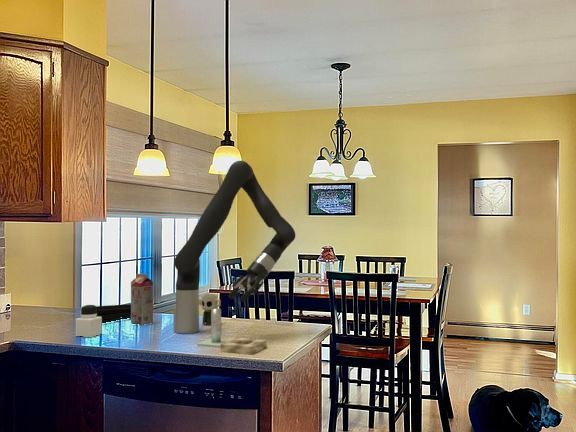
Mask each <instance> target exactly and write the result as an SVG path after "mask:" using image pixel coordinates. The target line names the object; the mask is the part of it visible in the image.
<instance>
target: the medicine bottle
mask: <svg viewBox="0 0 576 432" xmlns="http://www.w3.org/2000/svg"><path fill="white" fill-rule="evenodd" d="M97 306H98V305H94V304H84V305H82V306H81V307H80V317H78V318H75V337H76V336H84V337H92V338H94V337H93V336H95V337H97V336H96V335H99V336H101V335H100V334H103V332H102V331H103V325H102V321H103V319H102V317H96V315H97ZM84 337H83V338H84Z"/></svg>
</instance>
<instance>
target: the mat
mask: <svg viewBox="0 0 576 432" xmlns="http://www.w3.org/2000/svg"><path fill="white" fill-rule="evenodd" d="M230 340H231V339H222V338H221V342H220V343H212V342H211V337H210V338H208V339H206V340H203V341H200V342H197V343H196V345H197V346H201V347H212V348H221V344H223V343H225V342H228V341H230Z"/></svg>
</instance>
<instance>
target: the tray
mask: <svg viewBox="0 0 576 432" xmlns="http://www.w3.org/2000/svg"><path fill="white" fill-rule="evenodd" d="M96 306H97V315H96V317H102V323H106V322H111V321H116V320H120V319H127V318H131V303H129V304H128V303H127V304H126V303H125V304H113V305H96ZM119 317H122V318H119Z"/></svg>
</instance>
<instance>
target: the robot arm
mask: <svg viewBox="0 0 576 432" xmlns="http://www.w3.org/2000/svg"><path fill="white" fill-rule="evenodd" d="M241 188H242V190H243V191H244V192H245V193H246V195H247V196H248V197H249V198H250V200H251V202H252V204H253V206H254V208H255V209H256V212H257V213H258V214H259V217H260V218H261V219H262V221H263V223H265V226H267V227H268V228H269V229H270V228H272V229H273V231H274V232H275V234H274V236H273V237H272V238H271V240H270V242H269V243H268V244H267V245H266V246H265V247H264V249H263V250H262V251H261V252H260V254H258V255H257V256H256V258H255V259H254V260H253V261H252V262H251V264H250V265H249V266H248V267H247V269H246V273H247V274H246V275H245V276H243V274H242V275H240V276H239V277H238V278H237V279H236V281H235V282H234V283H233V284H232V285H231V287H232V288H233V289H232V290H231V291H230V293H229V294H228V298H229V299H230V300H234V299H235V297H236V296H237V295H238V293H239V292H241V291H244V290H245V291H244V292H243V294H242V296H241V297H240V300H241V301H242V302H244V303H246V301H247V300H248V299H249V298H250V296H251V295H253V294H255V295H256V294H257V293H258V292H259V290H260V289H261V287H262V286H263V285H264V283H265V281H264V280H265V279H266V277H268V275H269V273H271V271H272V270H273V268H274V267H275V265H276V264H277V262H278V261H279V259H280V258H281V256H282V254H283V253H284V252H285V250H286V249H287V248H288V247H289V246H290V245H291V244H292V242H294V240H295V238H296V231H295V229H294V227H293V226H292V225H291V224H290V223H289V221H287V220H286V218H284V217H283V216H282V215H281V214H280V212H279V210H278V209H277V207H276V206H275V204H273V202H272V200H271V199H270V198H269V196H268V195H267V194H266V193H265V192H264V190H263V188H262V186H261V185H260V183H259V181H258V179H257V177H256V175H255V172H254V170H253V167H252V165H250V164H249V163H248V162H246V161H244V160H236V161H235V162H233V163H232V164H231V165H230V167H229V168H228V170H227V172H226V174H225V176H224V179H223V181H222V182H221V185H220V186H219V188H218V190H217V191H216V192H215V194H214V195H213V197H212V199H211V200H210V202H209V203H208V205H206V207H205V209H204V210H203V212H202V214H201V216H200V218H199V220H198V221H197V223H196V225H195V227H194V229H193V231H192V233H191V235H190V237H189V238H188V240H187V241H186V242H185V243H184V245H183V246H182V248H181V249H180V250H179V251H178V253H177V254H176V255H175V257H174V267H175V269H176V270H177V272H176V273H177V277H176V282H175V307H174V308H173V332H174V333H177V334H195V333H198V332H200V305H199V298H200V282H201V281H200V279H201V259H200V257H201V256H202V253H203V252H204V250H205V248H206V247H207V246H208V244H209V243H210V242H211V241H212V239H213V238H214V237H215V236H216V235H217V233H218V232H219V231H220V230H221V228H222V226H223V225H224V223H225V221H226V220H227V219H228V216H229V215H230V211H231V209H232V206H233V203H234V200H235V198H236V196H237V194H238V193H239V192H240V190H241Z"/></svg>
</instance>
